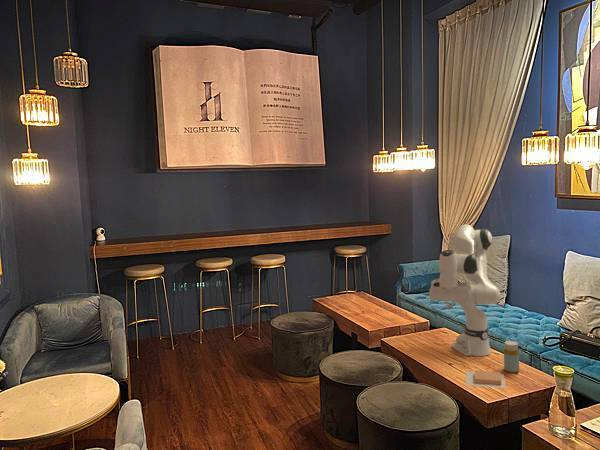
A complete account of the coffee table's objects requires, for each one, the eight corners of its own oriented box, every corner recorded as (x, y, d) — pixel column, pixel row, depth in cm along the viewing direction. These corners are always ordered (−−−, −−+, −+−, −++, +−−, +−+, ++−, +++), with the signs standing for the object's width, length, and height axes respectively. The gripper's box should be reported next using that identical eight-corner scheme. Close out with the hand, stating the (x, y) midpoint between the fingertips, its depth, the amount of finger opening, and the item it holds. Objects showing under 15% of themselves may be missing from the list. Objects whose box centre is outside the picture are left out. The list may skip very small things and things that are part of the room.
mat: (465, 386, 235) (465, 385, 235) (466, 372, 250) (466, 371, 250) (505, 389, 229) (505, 388, 229) (503, 374, 244) (503, 373, 244)
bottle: (520, 374, 243) (520, 345, 241) (506, 373, 245) (505, 345, 243) (517, 368, 250) (516, 340, 248) (503, 368, 251) (502, 340, 250)
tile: (474, 378, 236) (501, 380, 232) (474, 370, 245) (500, 372, 241) (474, 383, 236) (501, 385, 232) (474, 374, 245) (500, 376, 241)
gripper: (470, 281, 245) (471, 307, 246) (429, 280, 252) (430, 306, 253) (470, 284, 239) (471, 311, 241) (428, 283, 246) (429, 309, 248)
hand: (449, 308), depth 247 cm, fingers closed
